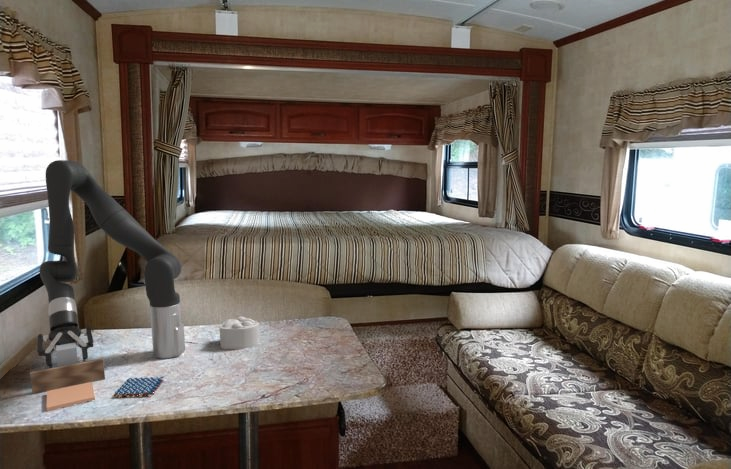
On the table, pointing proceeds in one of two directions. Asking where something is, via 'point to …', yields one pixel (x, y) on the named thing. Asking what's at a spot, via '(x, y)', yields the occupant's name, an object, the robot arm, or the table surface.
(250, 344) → the lumpy-topped squat cylinder
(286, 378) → the table surface
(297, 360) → the table surface
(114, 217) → the robot arm
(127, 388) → the woven mat
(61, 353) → the plain grey block
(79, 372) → the walnut screen
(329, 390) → the table surface
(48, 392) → the terracotta tile
